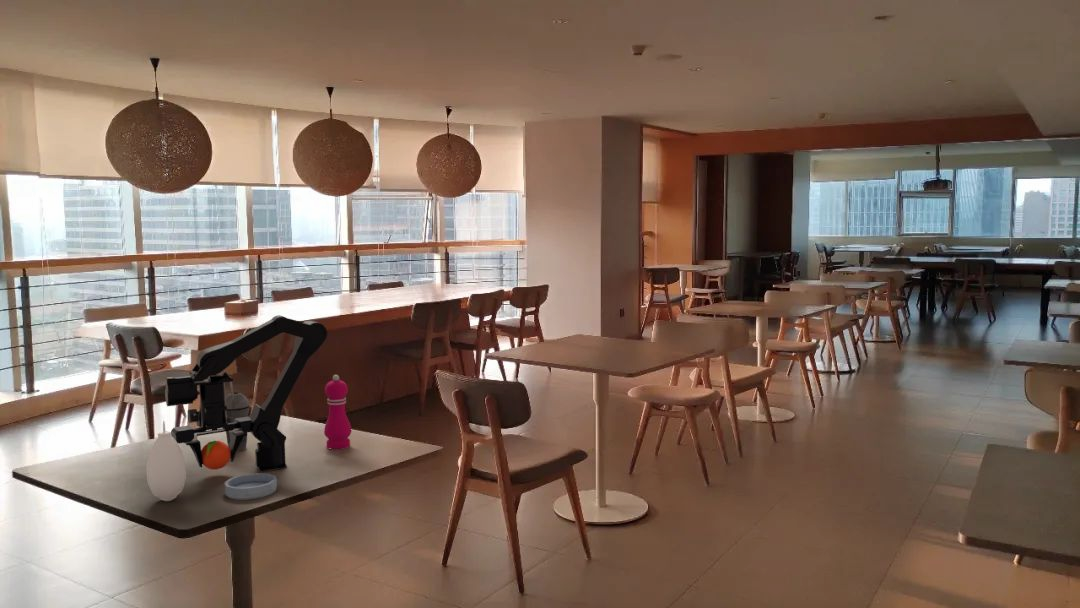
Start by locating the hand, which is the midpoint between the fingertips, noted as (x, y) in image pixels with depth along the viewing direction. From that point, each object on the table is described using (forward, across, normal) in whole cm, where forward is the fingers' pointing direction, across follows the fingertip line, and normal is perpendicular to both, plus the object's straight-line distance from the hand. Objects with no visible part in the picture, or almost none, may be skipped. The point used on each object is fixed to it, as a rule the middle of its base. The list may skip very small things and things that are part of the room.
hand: (216, 464), depth 199 cm
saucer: (+3, -3, +18) cm, 18 cm away
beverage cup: (+3, -11, -21) cm, 24 cm away
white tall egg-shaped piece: (+3, +14, +12) cm, 18 cm away
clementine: (+2, 0, 0) cm, 2 cm away
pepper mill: (+3, -34, -6) cm, 34 cm away
